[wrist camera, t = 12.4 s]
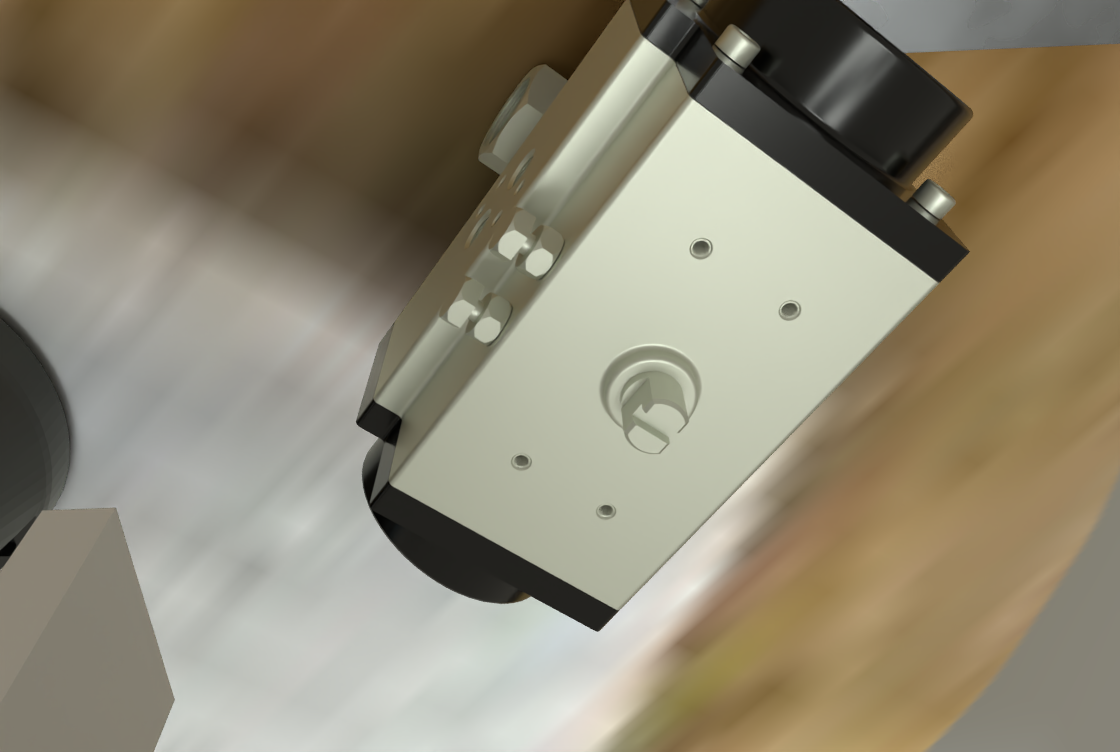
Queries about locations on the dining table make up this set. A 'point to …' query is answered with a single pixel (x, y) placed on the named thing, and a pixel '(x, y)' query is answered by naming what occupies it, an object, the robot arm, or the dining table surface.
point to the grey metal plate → (990, 23)
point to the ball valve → (654, 293)
